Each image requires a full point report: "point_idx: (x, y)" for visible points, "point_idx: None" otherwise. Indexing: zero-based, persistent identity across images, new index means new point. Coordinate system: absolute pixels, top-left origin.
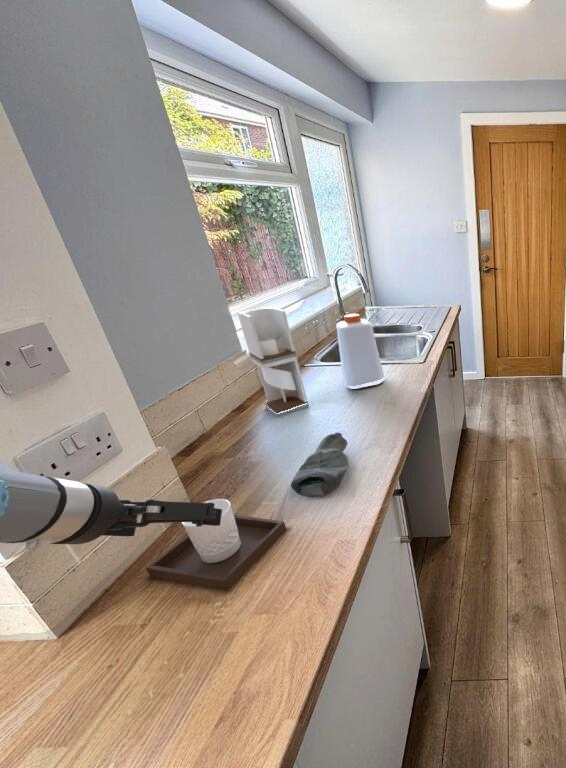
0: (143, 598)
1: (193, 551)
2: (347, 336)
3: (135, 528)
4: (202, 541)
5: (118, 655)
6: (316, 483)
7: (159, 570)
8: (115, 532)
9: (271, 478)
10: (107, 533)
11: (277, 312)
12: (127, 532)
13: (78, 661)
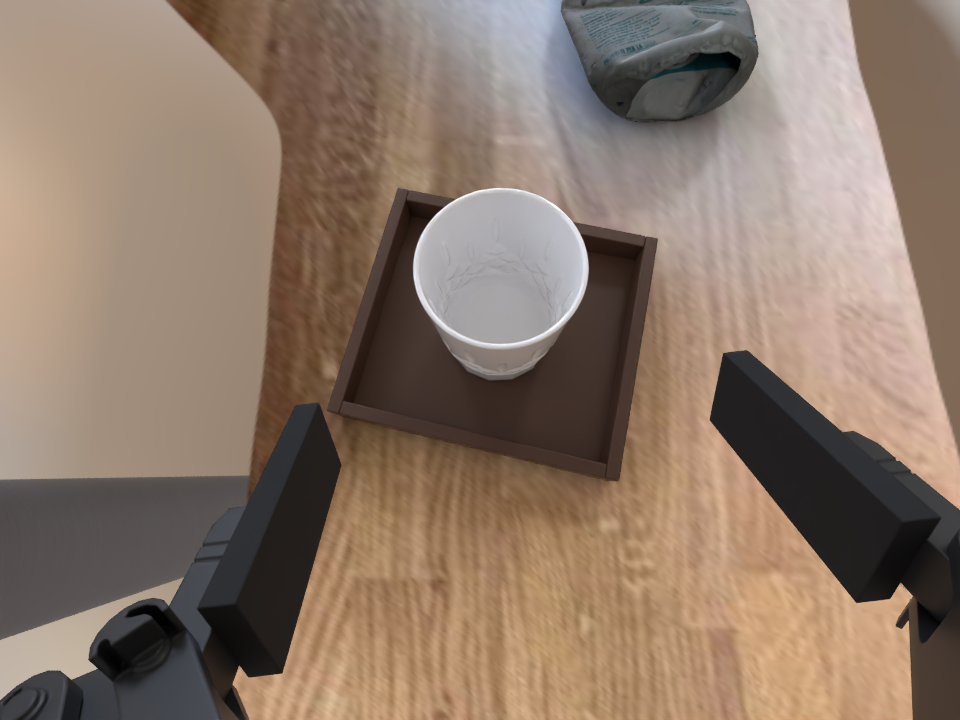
0: (372, 490)
1: (410, 329)
2: None
3: (331, 439)
4: (509, 365)
5: (437, 682)
6: (672, 73)
7: (378, 423)
8: (306, 563)
9: (459, 36)
10: (293, 627)
11: None
12: (327, 490)
13: (339, 693)
